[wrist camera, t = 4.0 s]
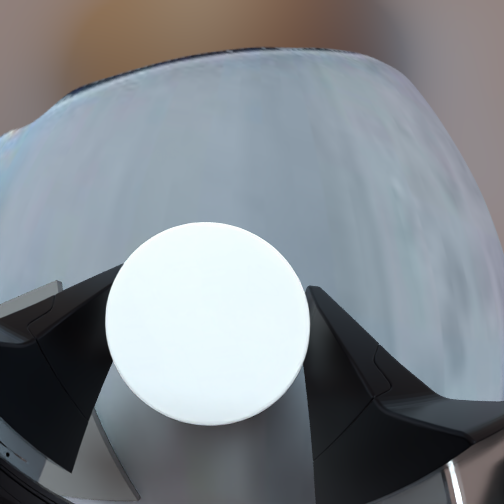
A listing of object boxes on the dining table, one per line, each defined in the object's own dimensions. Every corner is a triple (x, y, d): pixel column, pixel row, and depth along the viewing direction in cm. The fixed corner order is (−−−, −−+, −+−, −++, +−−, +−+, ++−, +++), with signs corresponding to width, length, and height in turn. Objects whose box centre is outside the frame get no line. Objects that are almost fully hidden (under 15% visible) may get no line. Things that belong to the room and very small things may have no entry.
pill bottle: (157, 342, 14) (51, 346, 5) (208, 261, 16) (172, 162, 7) (241, 395, 14) (250, 484, 4) (292, 311, 15) (374, 276, 6)
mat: (140, 497, 11) (137, 500, 10) (22, 484, 9) (19, 485, 8) (61, 282, 15) (56, 280, 14) (-31, 321, 13) (-36, 320, 12)
